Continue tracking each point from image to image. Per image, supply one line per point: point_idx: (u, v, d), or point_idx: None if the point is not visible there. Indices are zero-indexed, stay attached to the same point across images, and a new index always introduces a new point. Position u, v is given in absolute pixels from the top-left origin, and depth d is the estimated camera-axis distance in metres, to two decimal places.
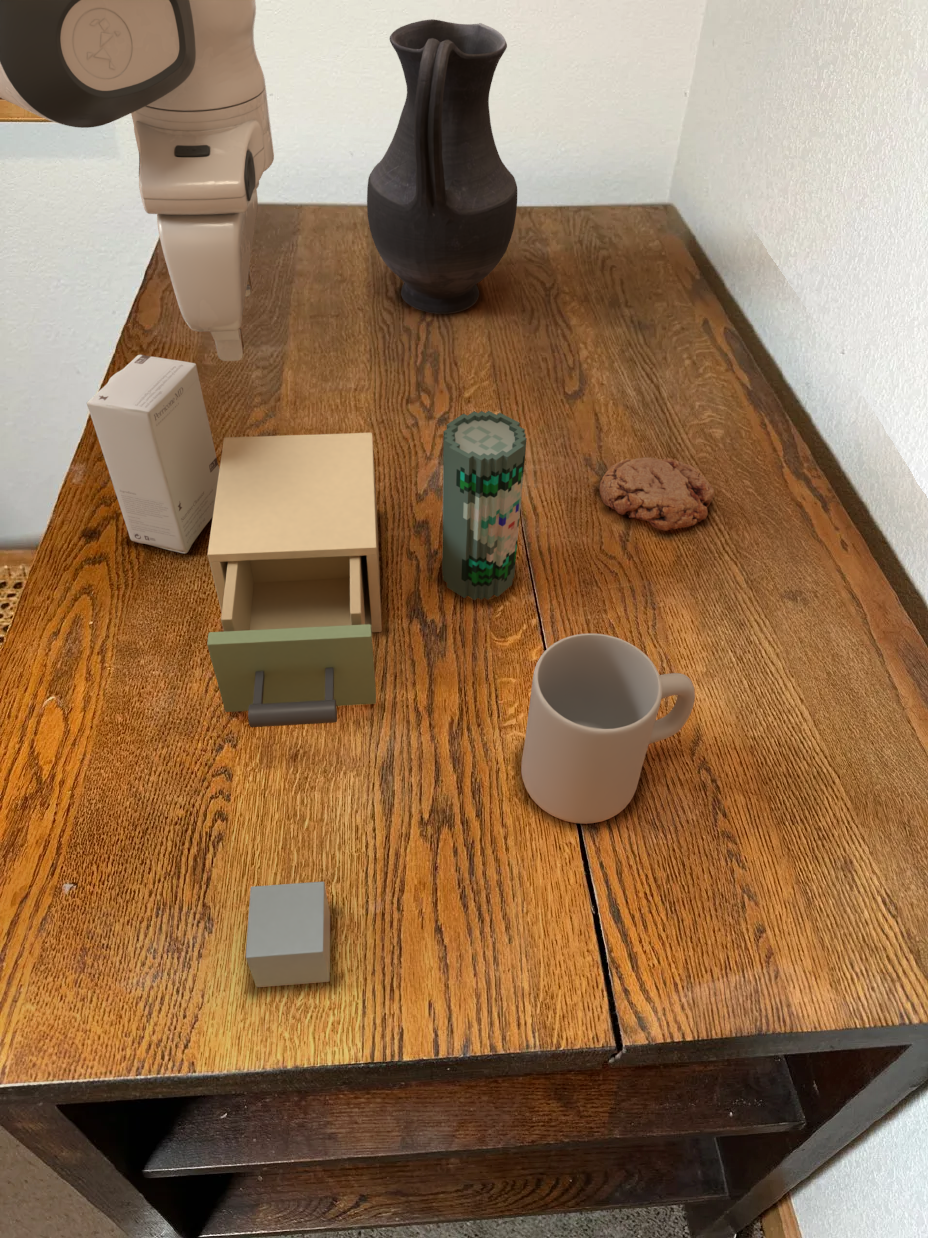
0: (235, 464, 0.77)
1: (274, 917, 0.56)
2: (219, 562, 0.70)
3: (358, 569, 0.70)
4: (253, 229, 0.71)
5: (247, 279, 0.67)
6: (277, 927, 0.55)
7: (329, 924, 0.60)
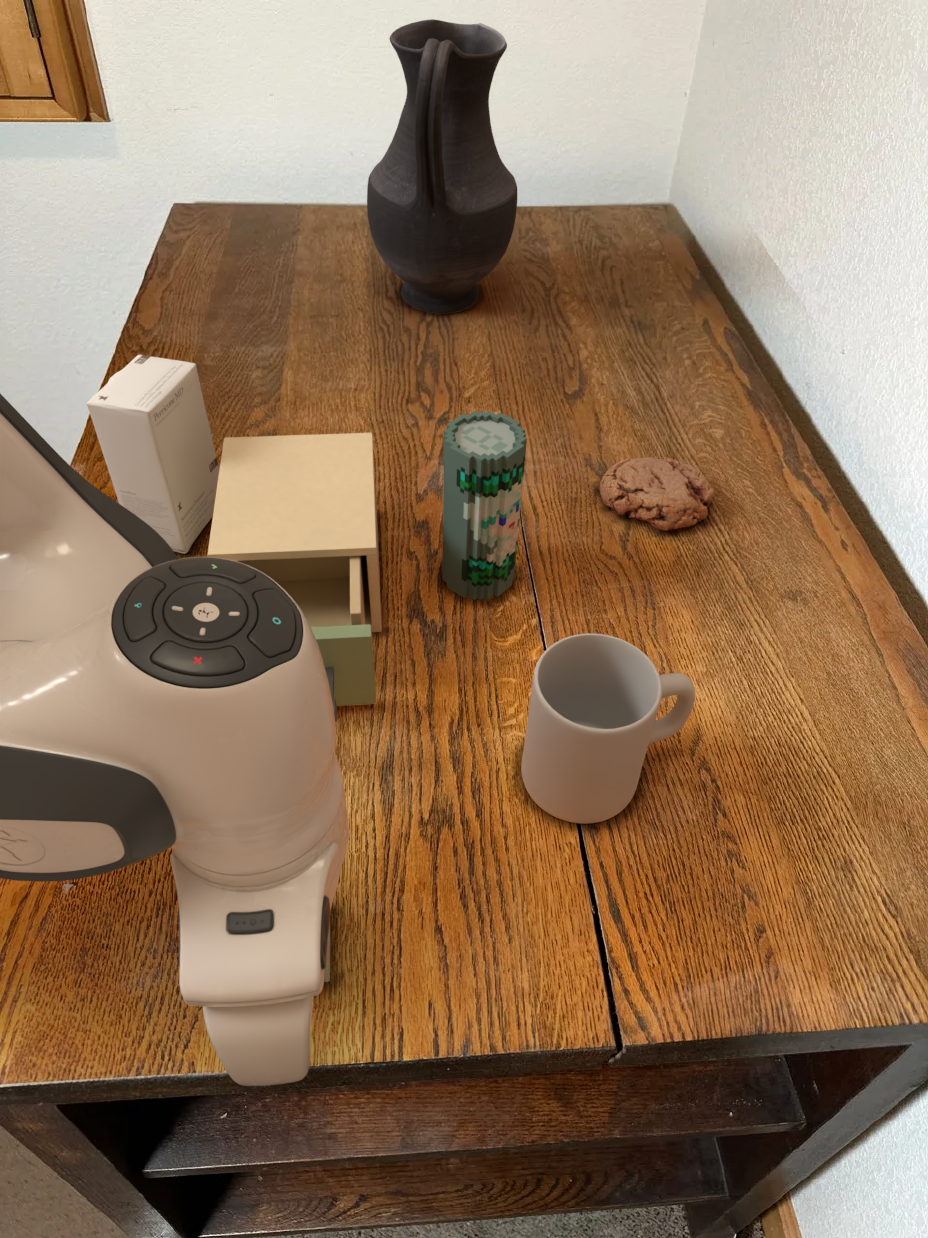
0: (235, 464, 0.77)
1: None
2: None
3: (358, 569, 0.70)
4: None
5: None
6: None
7: (329, 924, 0.60)
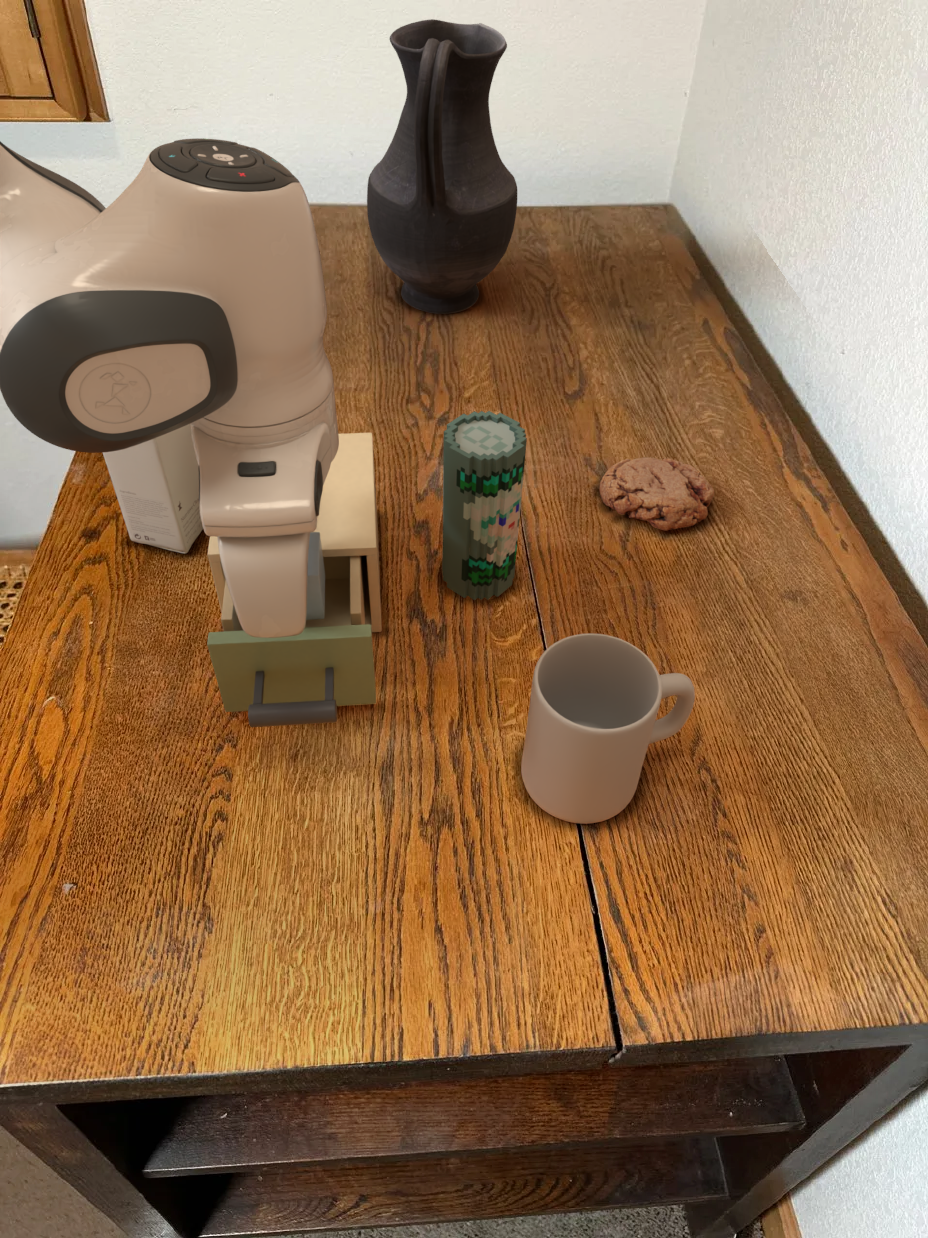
0: None
1: None
2: (219, 562, 0.70)
3: (358, 569, 0.70)
4: None
5: None
6: None
7: (324, 579, 0.69)
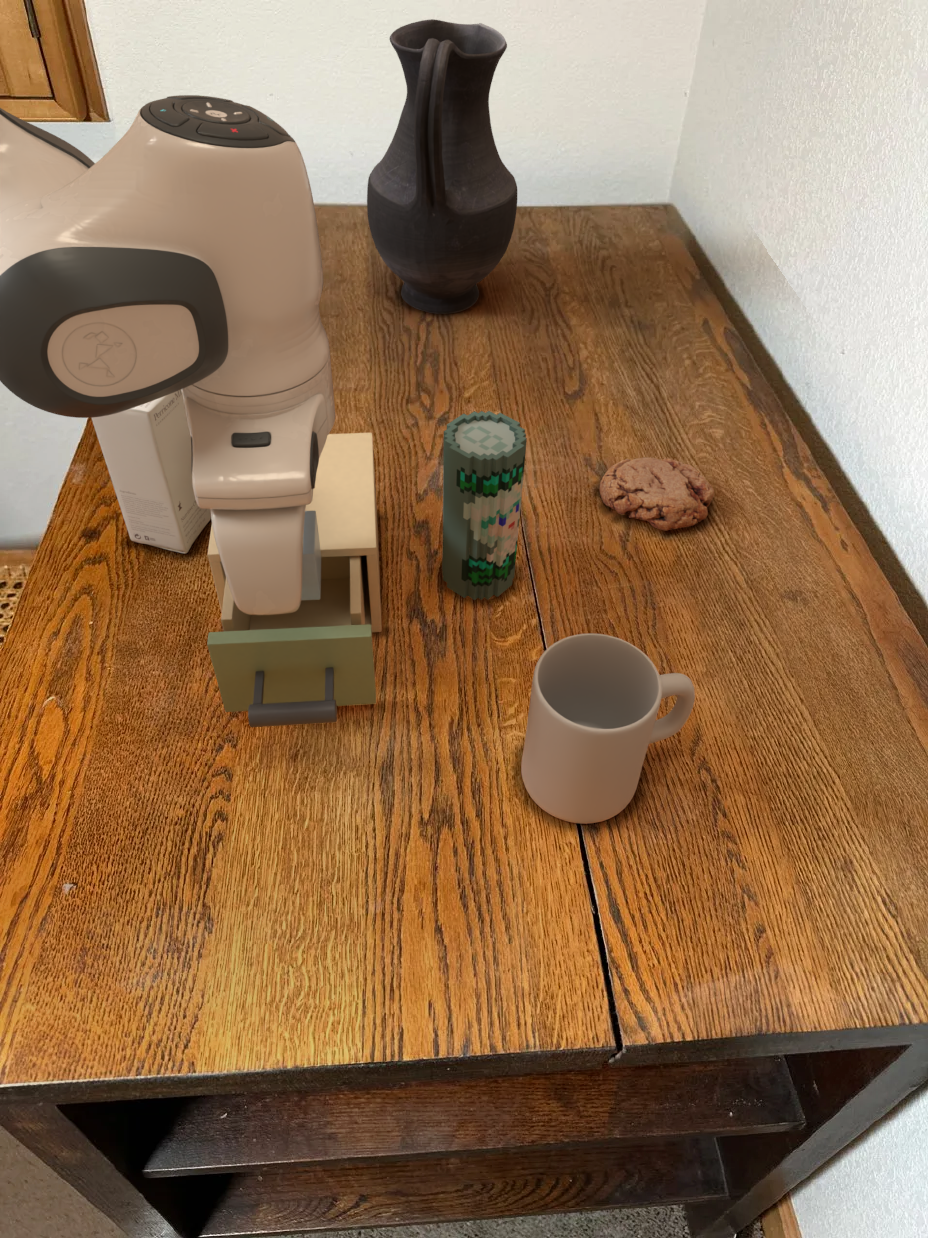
0: None
1: None
2: (219, 562, 0.70)
3: (358, 569, 0.70)
4: None
5: None
6: None
7: (320, 560, 0.68)
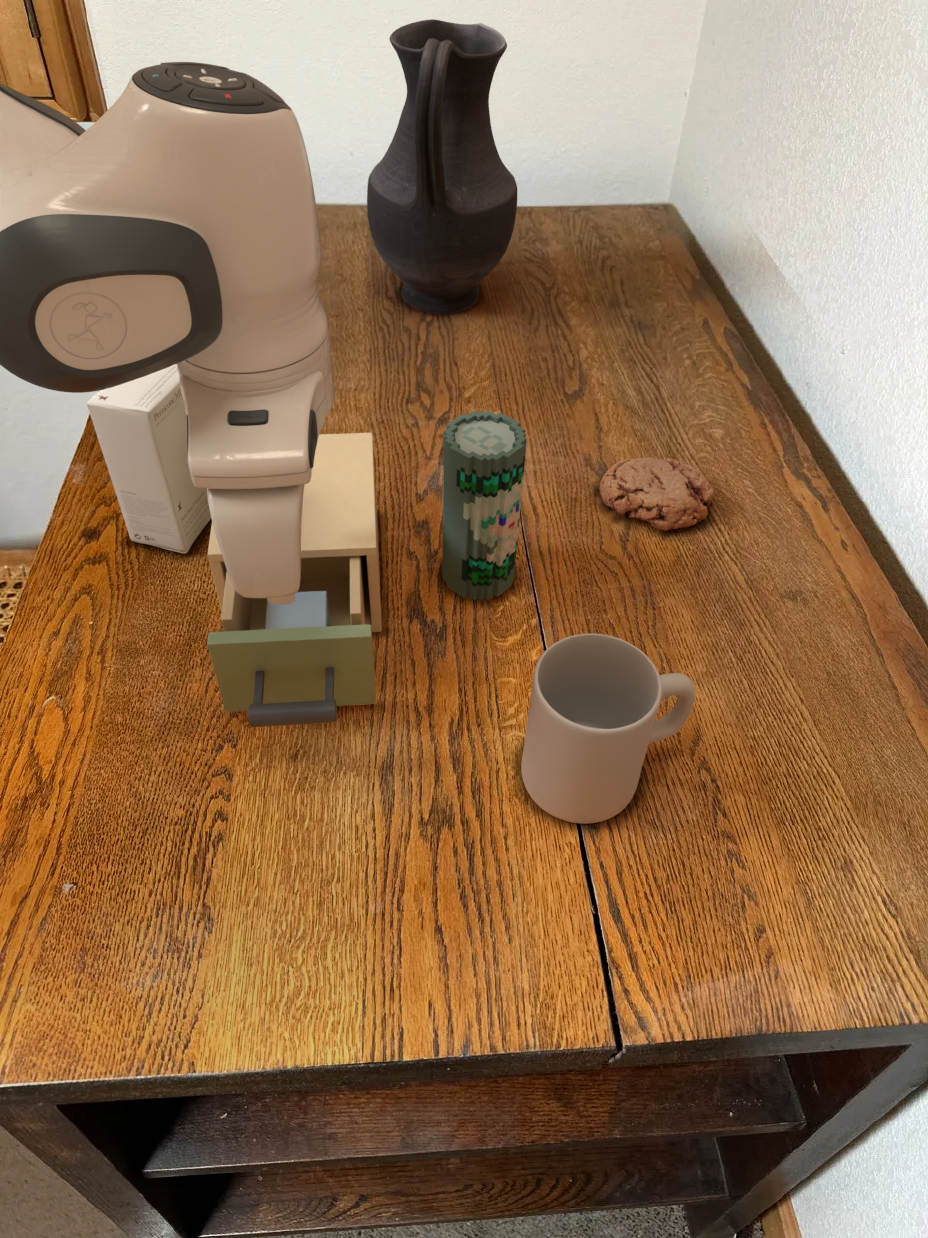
0: None
1: (286, 612, 0.70)
2: (219, 562, 0.70)
3: (358, 569, 0.70)
4: None
5: None
6: (289, 618, 0.69)
7: None
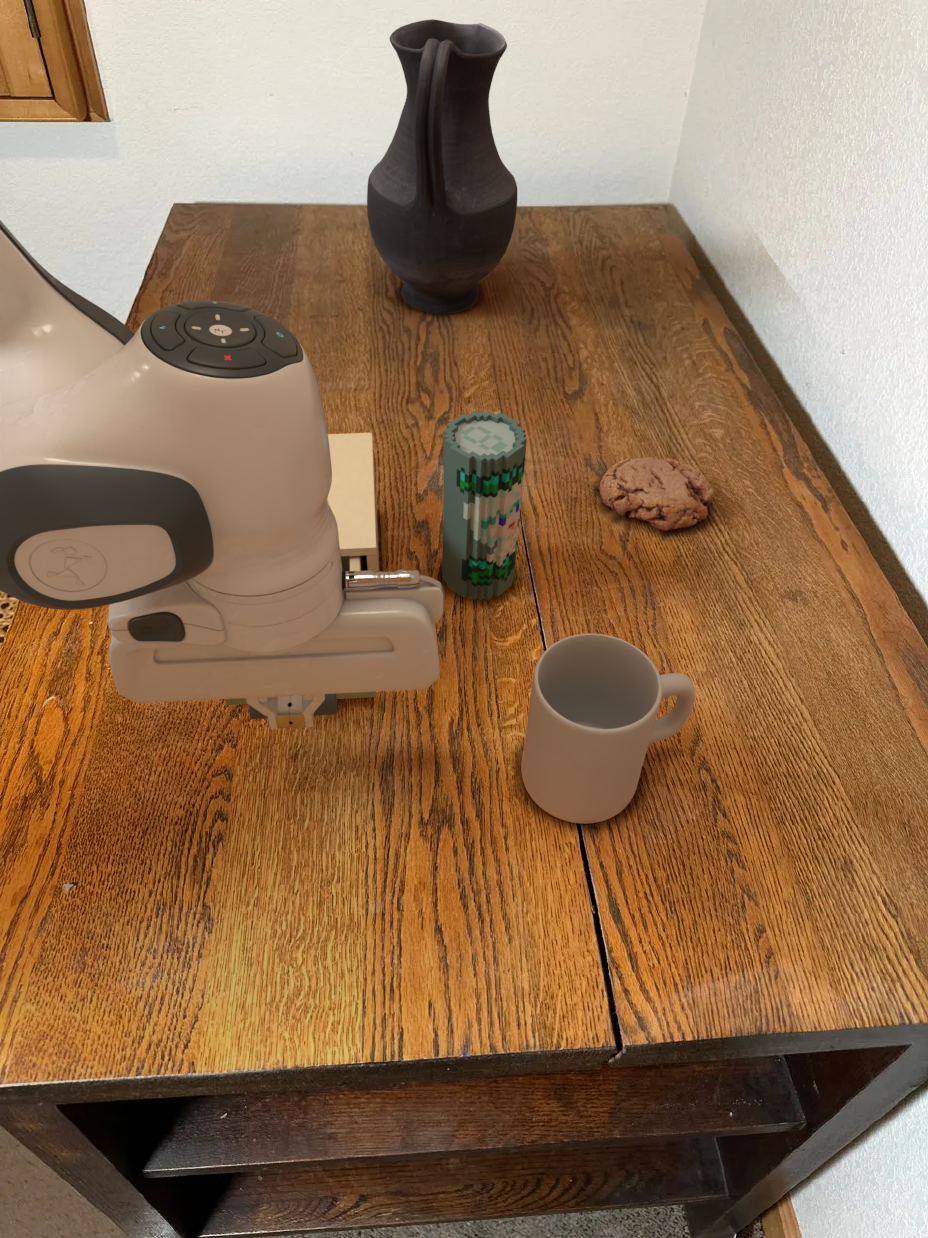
0: None
1: None
2: None
3: (358, 563, 0.71)
4: (343, 687, 0.59)
5: (232, 696, 0.59)
6: None
7: None
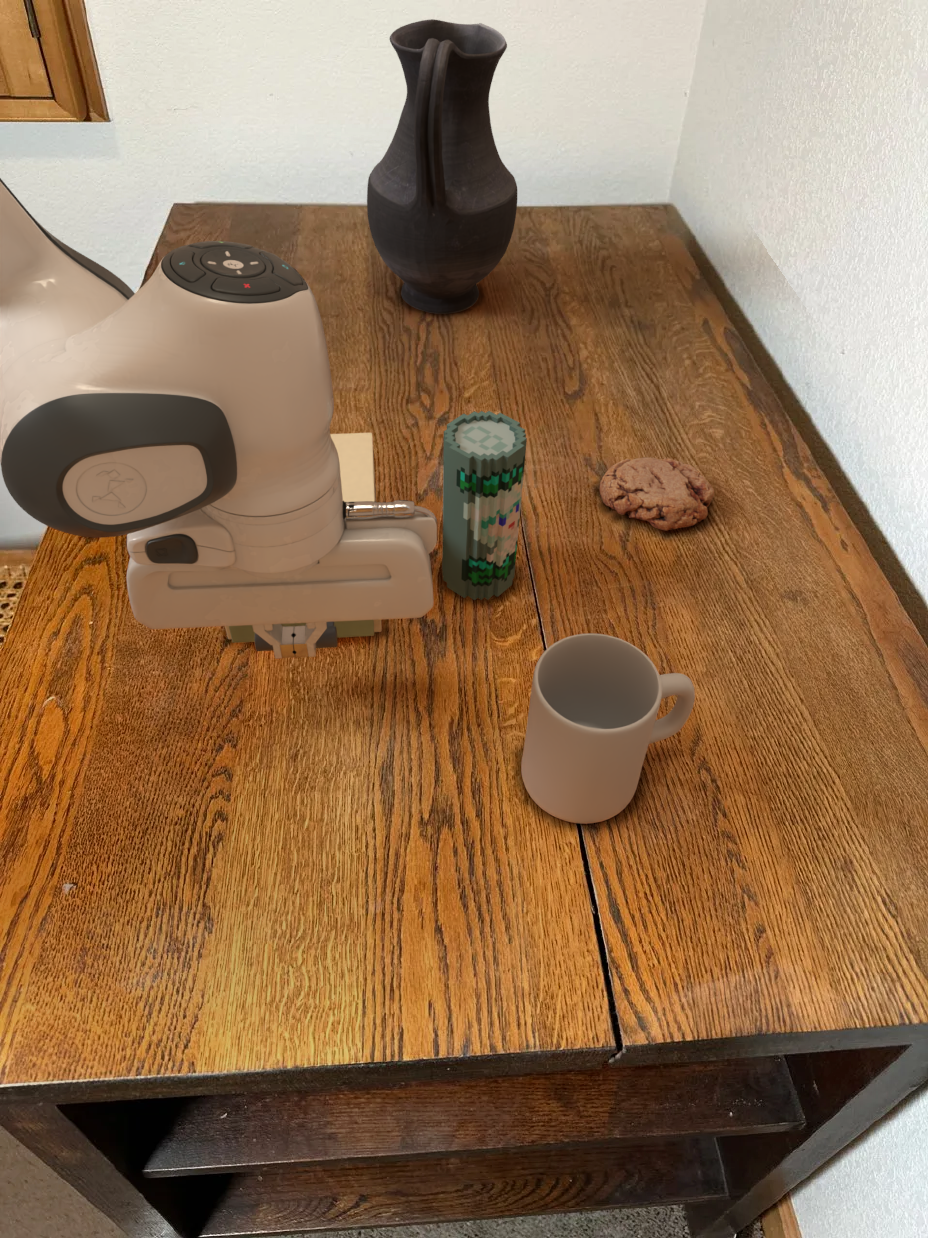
0: None
1: None
2: None
3: None
4: (343, 614, 0.63)
5: (240, 623, 0.63)
6: None
7: None
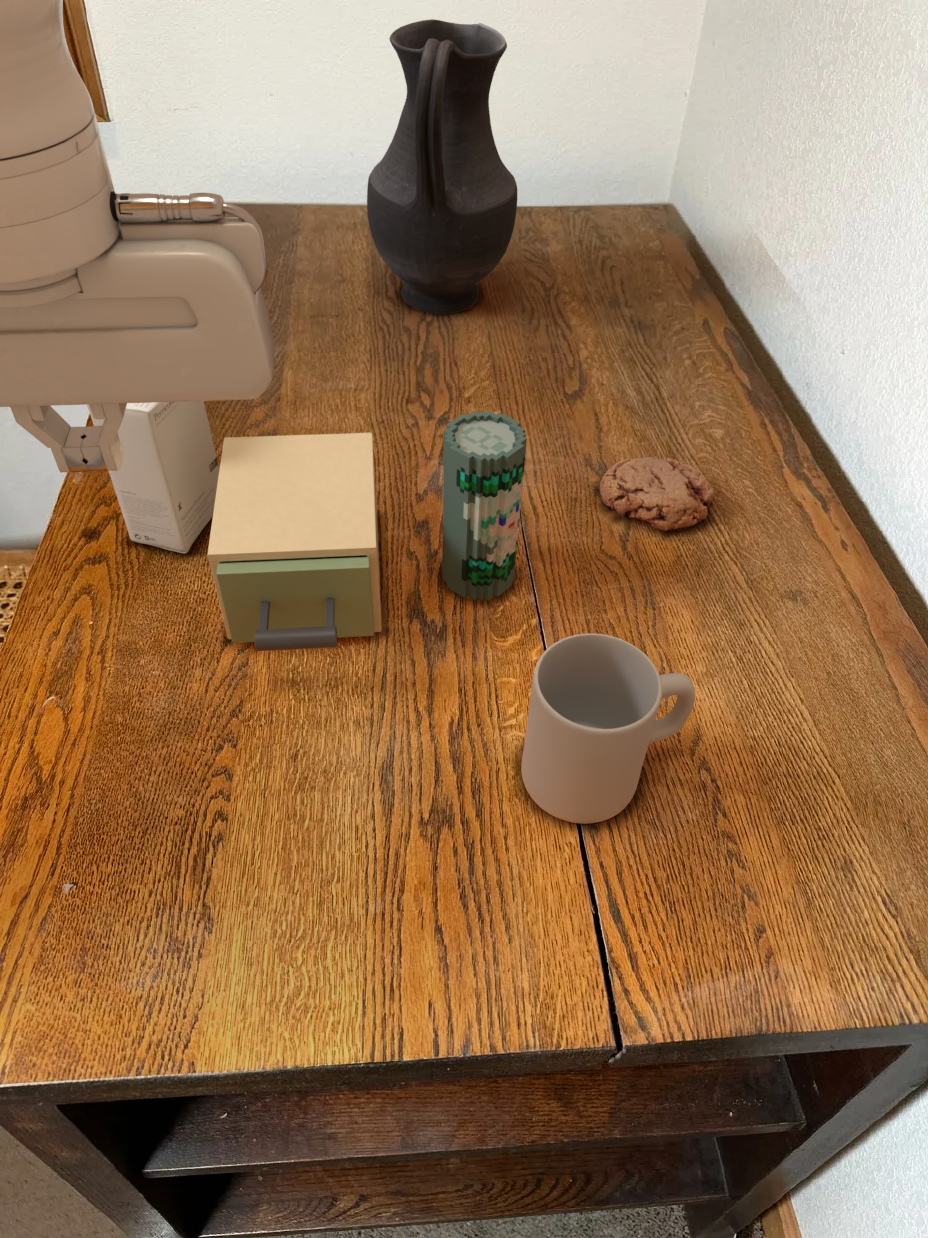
0: (235, 464, 0.77)
1: None
2: (219, 562, 0.70)
3: None
4: (138, 389, 0.44)
5: None
6: None
7: None
